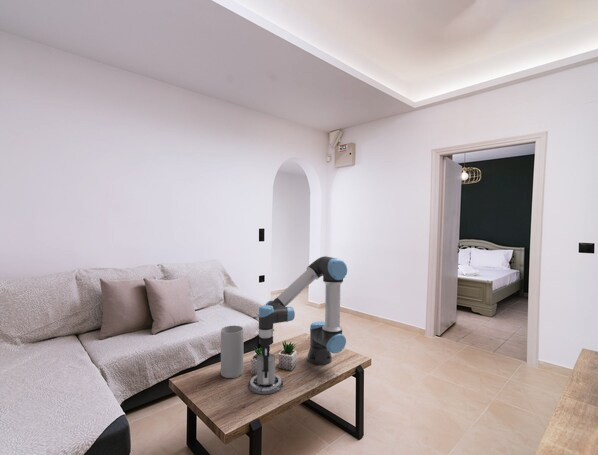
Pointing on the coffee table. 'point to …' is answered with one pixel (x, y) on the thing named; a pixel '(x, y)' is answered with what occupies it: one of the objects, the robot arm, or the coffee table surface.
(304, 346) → the coffee table surface
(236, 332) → the cylinder vase
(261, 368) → the beer can
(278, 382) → the round grey metal tray
